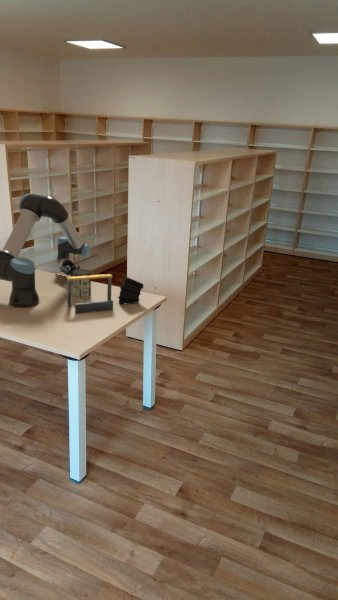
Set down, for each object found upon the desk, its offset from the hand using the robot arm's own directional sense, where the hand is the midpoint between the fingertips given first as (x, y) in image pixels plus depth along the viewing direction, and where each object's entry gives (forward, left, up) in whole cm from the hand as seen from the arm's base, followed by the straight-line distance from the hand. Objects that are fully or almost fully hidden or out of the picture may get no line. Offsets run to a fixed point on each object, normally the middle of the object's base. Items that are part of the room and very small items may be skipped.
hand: (76, 276), depth 256 cm
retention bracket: (0, -32, -8) cm, 32 cm away
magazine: (+23, -30, -8) cm, 38 cm away
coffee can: (0, -12, -8) cm, 14 cm away
